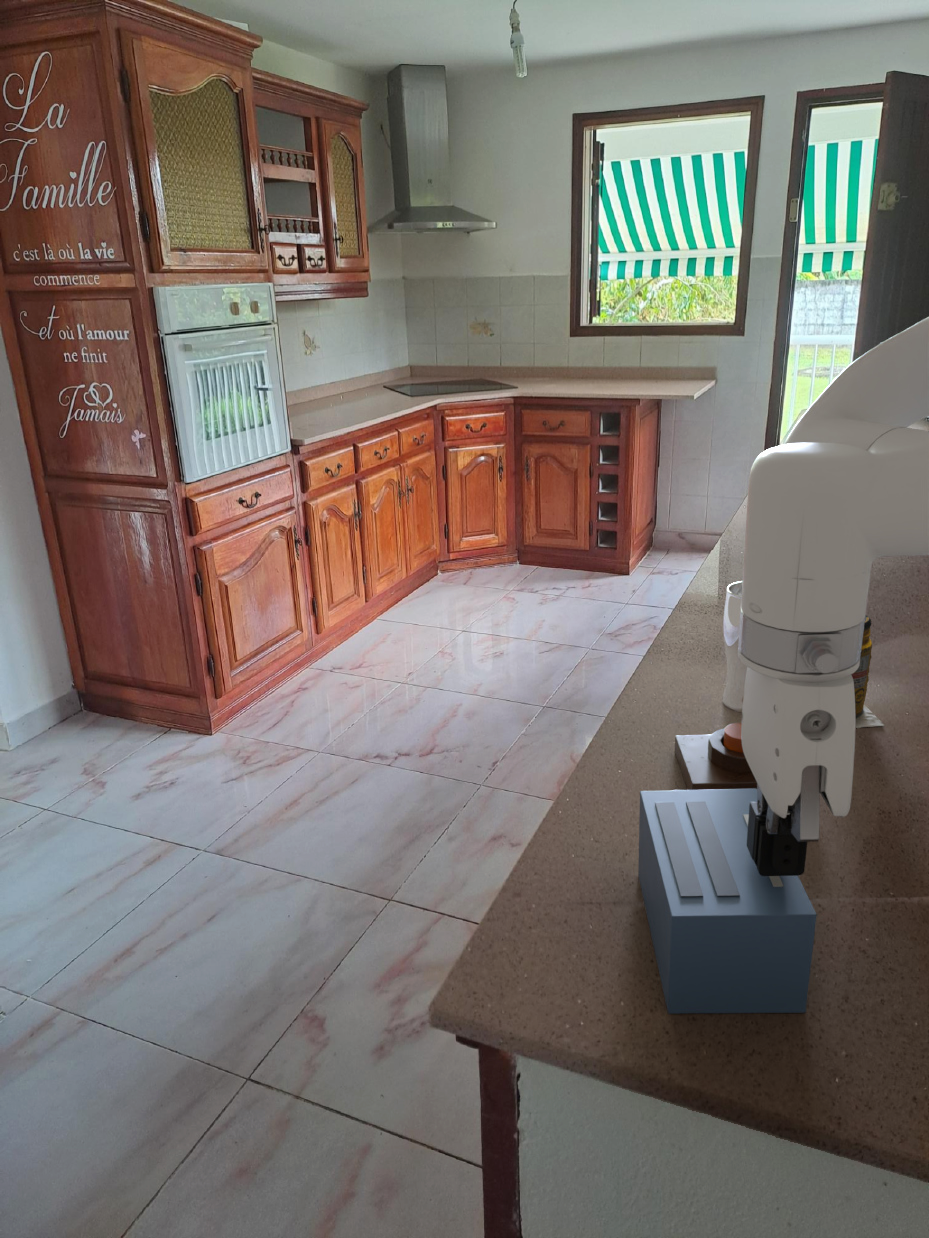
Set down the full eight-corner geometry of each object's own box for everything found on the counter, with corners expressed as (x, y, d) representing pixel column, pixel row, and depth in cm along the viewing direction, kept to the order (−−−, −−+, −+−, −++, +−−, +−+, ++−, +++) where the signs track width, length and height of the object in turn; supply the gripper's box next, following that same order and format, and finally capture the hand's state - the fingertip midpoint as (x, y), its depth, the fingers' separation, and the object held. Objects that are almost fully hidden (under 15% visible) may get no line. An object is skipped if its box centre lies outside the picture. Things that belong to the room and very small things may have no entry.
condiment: (853, 694, 110) (864, 604, 105) (884, 727, 102) (897, 631, 98) (795, 697, 110) (803, 608, 106) (821, 730, 102) (831, 635, 98)
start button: (753, 736, 95) (755, 722, 94) (763, 753, 91) (764, 739, 91) (720, 737, 95) (720, 723, 94) (727, 754, 92) (728, 740, 91)
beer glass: (770, 720, 105) (780, 603, 99) (712, 709, 108) (718, 595, 103) (782, 696, 110) (792, 583, 105) (726, 686, 114) (733, 577, 108)
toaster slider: (777, 845, 68) (781, 801, 67) (784, 859, 66) (788, 814, 65) (746, 845, 68) (749, 801, 67) (752, 860, 67) (755, 815, 65)
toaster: (750, 873, 79) (756, 787, 76) (805, 1012, 64) (817, 913, 61) (638, 875, 80) (639, 789, 77) (667, 1013, 65) (671, 915, 62)
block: (782, 749, 99) (785, 718, 97) (811, 799, 89) (814, 765, 88) (674, 752, 99) (675, 721, 98) (691, 802, 90) (693, 768, 89)
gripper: (907, 686, 50) (870, 941, 57) (819, 595, 64) (798, 809, 71) (773, 690, 51) (752, 942, 57) (715, 599, 64) (704, 811, 71)
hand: (778, 868), depth 64 cm, fingers closed
